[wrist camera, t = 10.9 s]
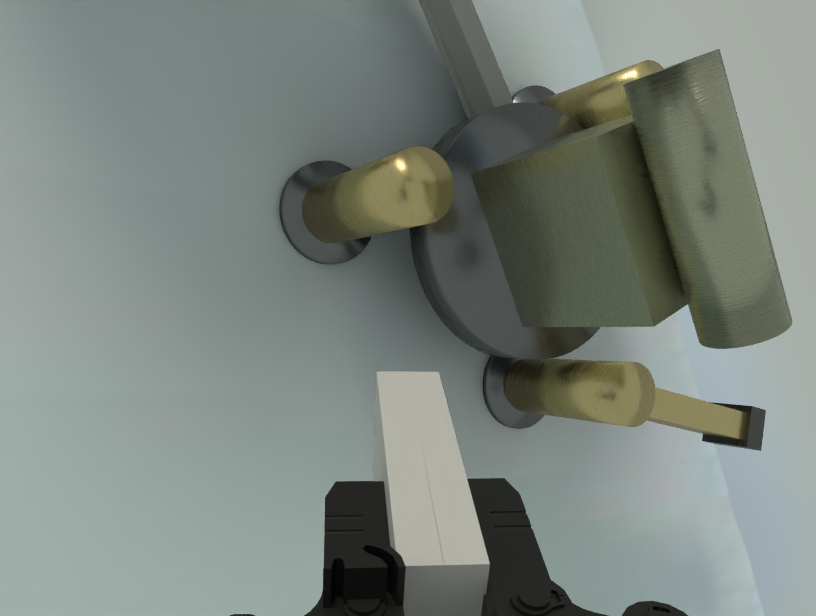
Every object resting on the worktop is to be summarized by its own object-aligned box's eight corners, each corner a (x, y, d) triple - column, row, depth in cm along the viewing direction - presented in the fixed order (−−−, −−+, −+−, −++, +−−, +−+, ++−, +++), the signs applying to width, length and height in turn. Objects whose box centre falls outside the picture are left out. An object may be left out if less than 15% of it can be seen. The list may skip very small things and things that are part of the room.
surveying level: (263, 180, 36) (491, 77, 22) (552, 78, 47) (840, -39, 32) (396, 513, 40) (670, 622, 25) (637, 350, 50) (932, 358, 36)
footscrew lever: (501, 407, 43) (607, 421, 36) (510, 352, 44) (616, 356, 37) (660, 441, 50) (773, 459, 44) (666, 394, 51) (779, 404, 44)
